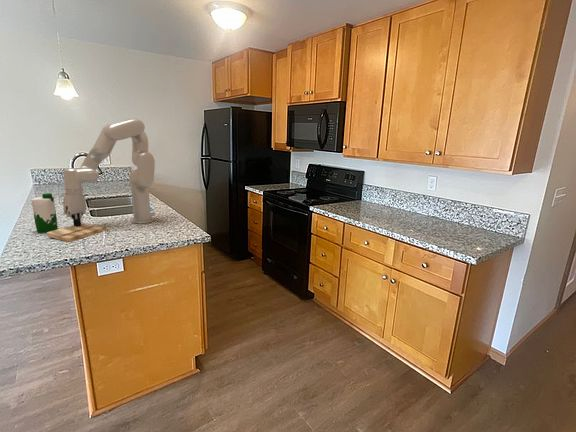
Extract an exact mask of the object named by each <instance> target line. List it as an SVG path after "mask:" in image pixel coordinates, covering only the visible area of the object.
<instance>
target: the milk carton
mask: <svg viewBox="0 0 576 432" xmlns="http://www.w3.org/2000/svg"><path fill="white" fill-rule="evenodd" d="M30 201H31V205H32V207H31V208H32V212H33V218H34V224H35V225H34V226H35V229H36V233H37V234H47V232H50V231H54V230H57V229H59V228H58V219H57V210H56V204H55V196H53V194H52V193H48V192H47V193H42V195H41V196H38V197H34V198H32V199H30Z"/></svg>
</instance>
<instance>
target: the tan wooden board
mask: <svg viewBox="0 0 576 432" xmlns="http://www.w3.org/2000/svg"><path fill="white" fill-rule="evenodd" d="M93 226H95V225H93V224H88V223H85V222H81V226H74V224H72V225H68V226H66V227H62V228H58V229H57V230H54V231H50V232H47V233H46V236H47V237H49V238H51V239H52V238H53V239H56V240H59V241H60V236H64V235H67V234H70V233H74V232H77V231H80V230H84V229H87V228H90V227H93Z"/></svg>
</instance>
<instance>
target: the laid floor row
mask: <svg viewBox="0 0 576 432" xmlns="http://www.w3.org/2000/svg"><path fill="white" fill-rule="evenodd" d="M105 231H107V227H106V226H103V225H94V226H93V227H90V228H87V229H84V230H80V231H77V232H74V233H70V234H67V235H64V236H60V240H59V241H60V242H66V243H72V242H75V241H78V240H81V239H84V238H87V237H89V236H93V235H97V234H100V233H103V232H105Z"/></svg>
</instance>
